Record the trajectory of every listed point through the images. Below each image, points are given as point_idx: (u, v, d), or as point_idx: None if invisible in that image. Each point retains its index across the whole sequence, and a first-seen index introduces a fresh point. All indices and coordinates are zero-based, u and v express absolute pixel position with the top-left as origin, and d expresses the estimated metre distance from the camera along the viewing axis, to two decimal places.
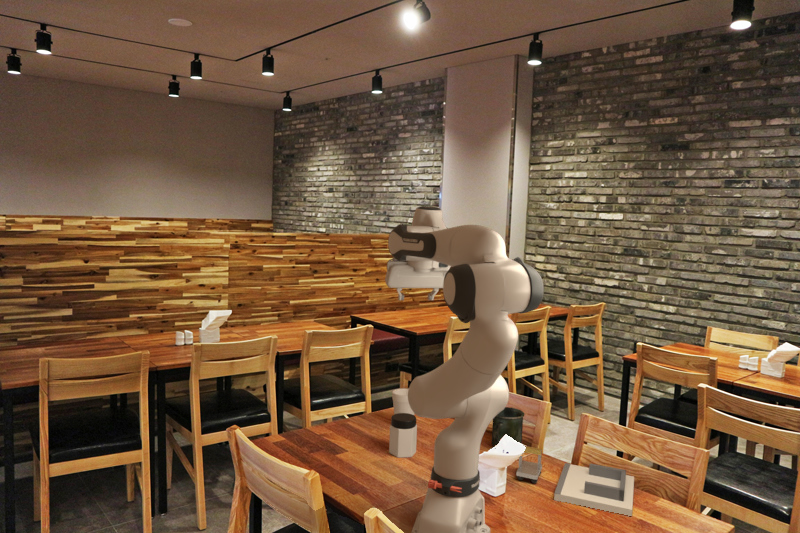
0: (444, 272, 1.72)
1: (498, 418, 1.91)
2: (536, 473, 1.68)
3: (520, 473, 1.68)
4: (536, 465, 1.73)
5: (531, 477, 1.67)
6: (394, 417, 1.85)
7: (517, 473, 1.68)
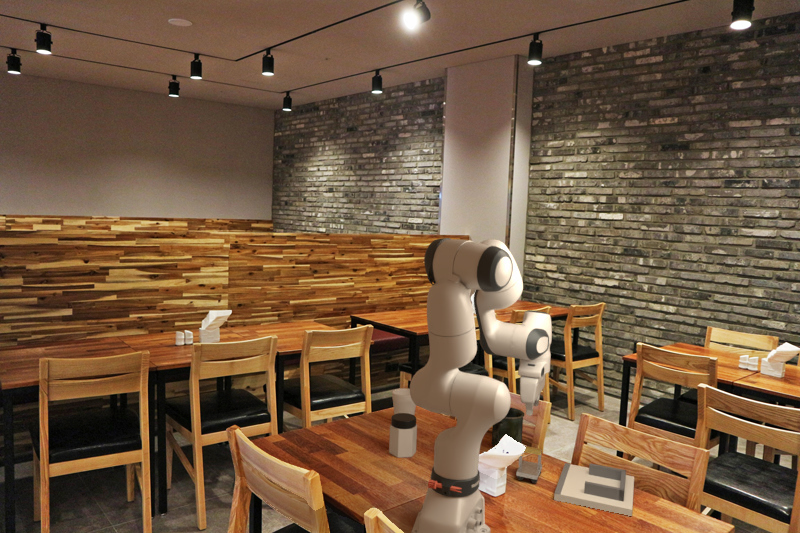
0: None
1: None
2: (536, 473, 1.68)
3: (520, 473, 1.68)
4: (536, 465, 1.73)
5: (531, 477, 1.67)
6: (394, 417, 1.85)
7: (517, 473, 1.68)
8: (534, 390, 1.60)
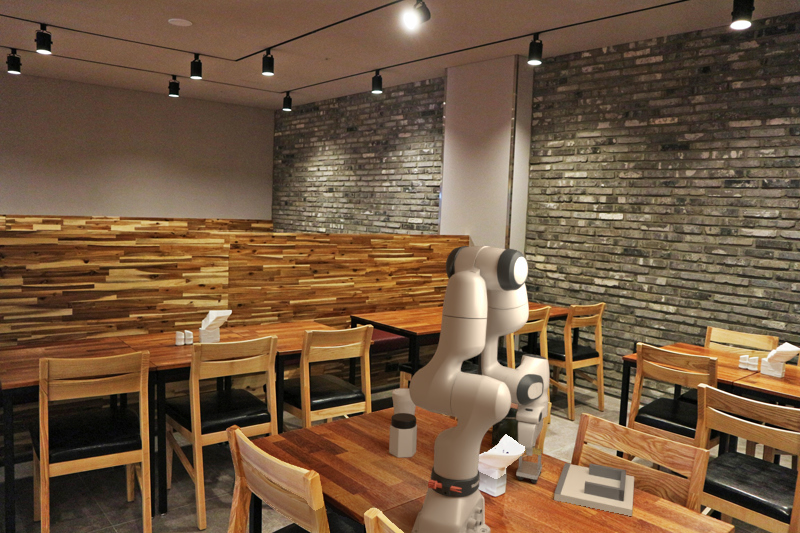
0: None
1: None
2: (536, 473, 1.68)
3: (520, 473, 1.68)
4: (536, 465, 1.73)
5: (531, 477, 1.67)
6: (394, 417, 1.85)
7: (517, 473, 1.68)
8: (532, 436, 1.61)
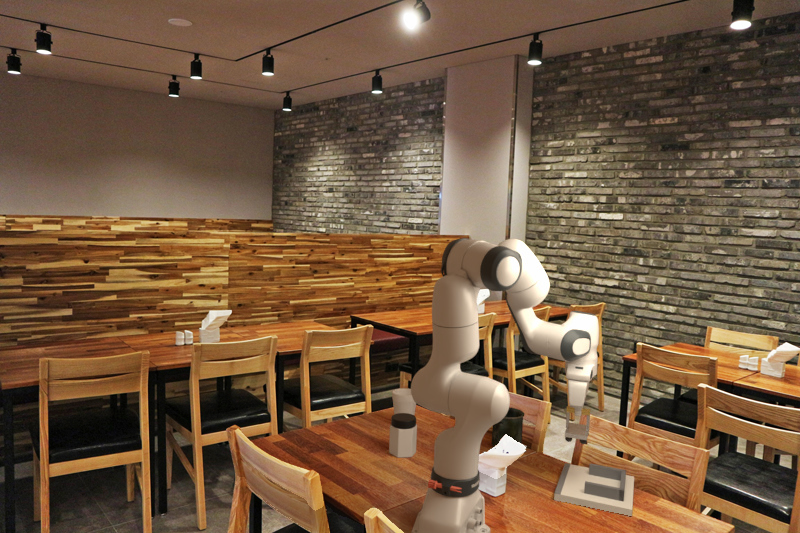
0: None
1: None
2: (585, 434, 1.62)
3: (569, 434, 1.62)
4: (583, 426, 1.68)
5: (581, 438, 1.61)
6: (394, 417, 1.85)
7: (566, 434, 1.63)
8: (583, 394, 1.55)
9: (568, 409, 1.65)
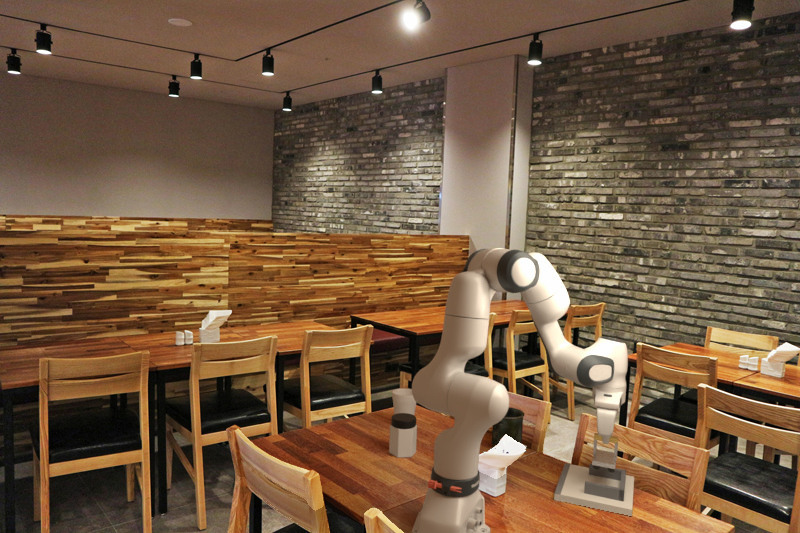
0: None
1: None
2: (614, 462, 1.59)
3: (597, 462, 1.59)
4: (611, 454, 1.65)
5: (609, 466, 1.58)
6: (394, 417, 1.85)
7: (593, 462, 1.60)
8: (613, 423, 1.52)
9: (595, 436, 1.63)
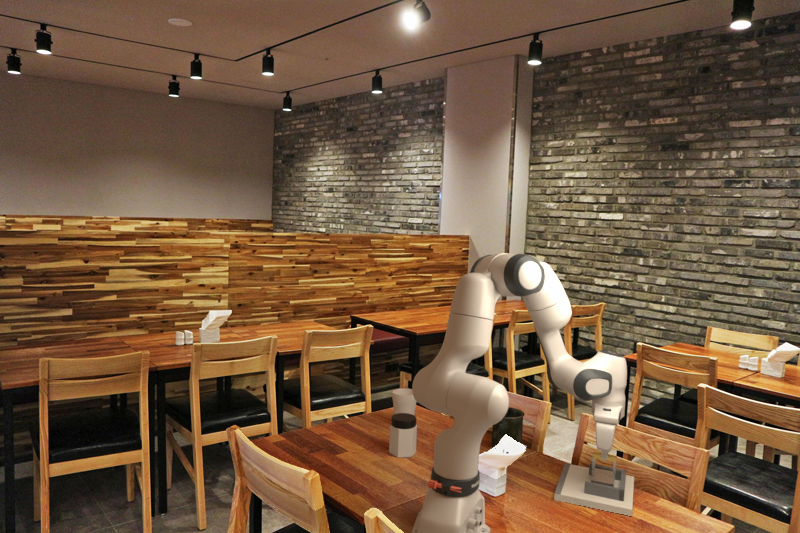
0: None
1: None
2: (612, 482, 1.59)
3: (595, 482, 1.60)
4: (609, 473, 1.65)
5: None
6: (394, 417, 1.85)
7: (592, 482, 1.60)
8: (612, 437, 1.52)
9: (594, 455, 1.63)
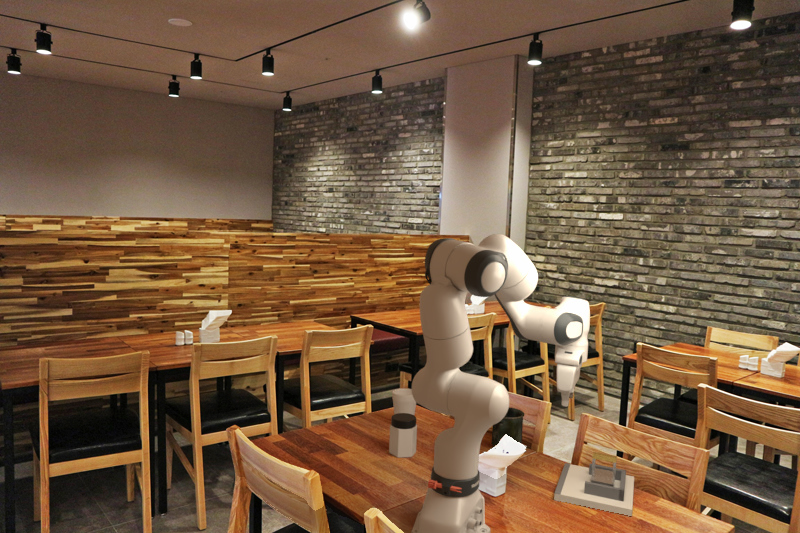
0: None
1: None
2: (612, 482, 1.59)
3: (595, 482, 1.60)
4: (609, 473, 1.65)
5: None
6: (394, 417, 1.85)
7: (592, 482, 1.60)
8: (572, 378, 1.52)
9: (594, 455, 1.63)
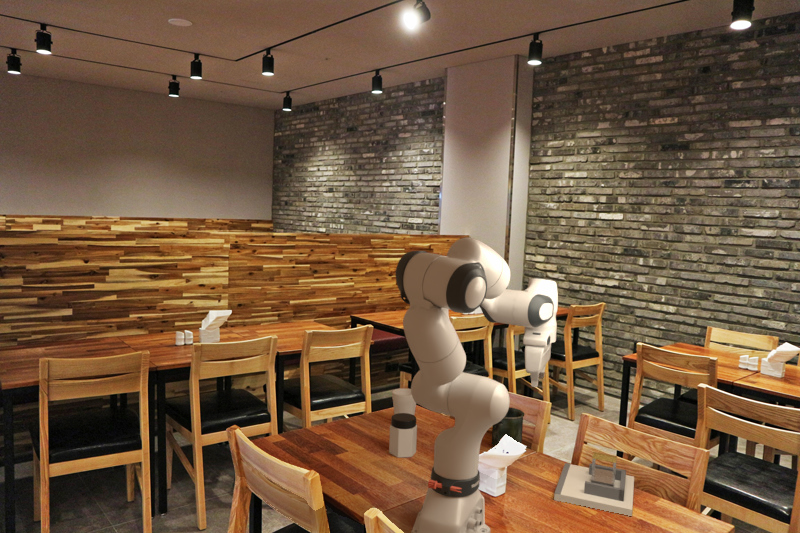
0: None
1: None
2: (612, 482, 1.59)
3: (595, 482, 1.60)
4: (609, 473, 1.65)
5: None
6: (394, 417, 1.85)
7: (592, 482, 1.60)
8: (540, 359, 1.53)
9: (594, 455, 1.63)
